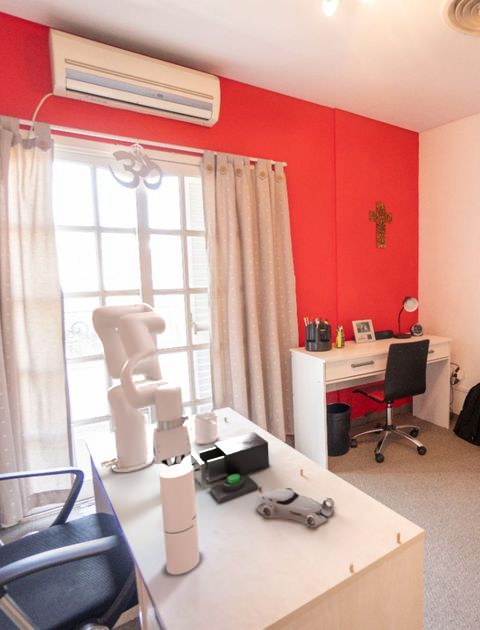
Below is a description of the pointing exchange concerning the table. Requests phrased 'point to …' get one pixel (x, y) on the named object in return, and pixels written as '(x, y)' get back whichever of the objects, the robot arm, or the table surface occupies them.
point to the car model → (294, 507)
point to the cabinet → (245, 454)
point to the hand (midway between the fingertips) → (174, 475)
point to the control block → (233, 488)
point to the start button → (233, 479)
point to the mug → (206, 427)
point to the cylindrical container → (179, 518)
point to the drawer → (209, 465)
